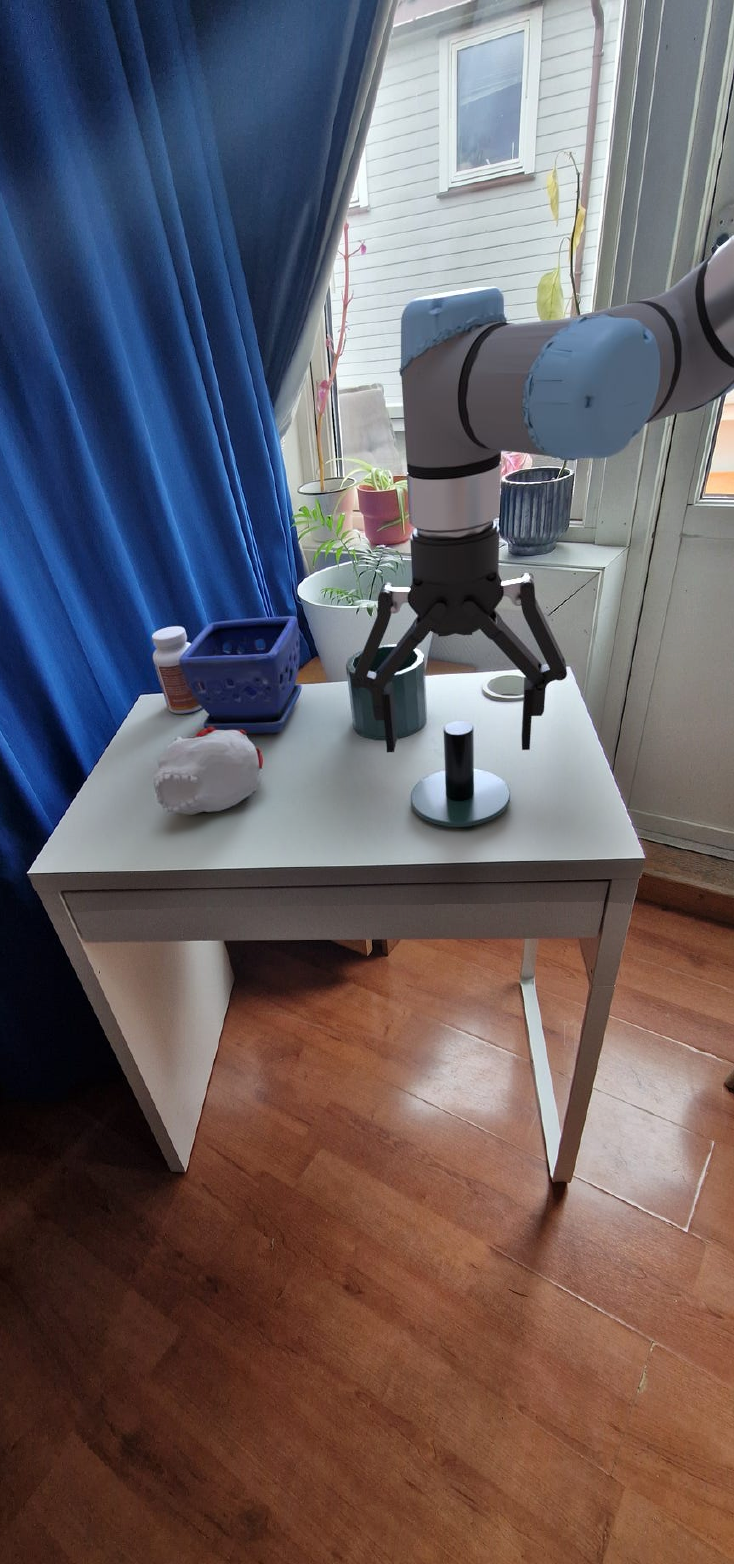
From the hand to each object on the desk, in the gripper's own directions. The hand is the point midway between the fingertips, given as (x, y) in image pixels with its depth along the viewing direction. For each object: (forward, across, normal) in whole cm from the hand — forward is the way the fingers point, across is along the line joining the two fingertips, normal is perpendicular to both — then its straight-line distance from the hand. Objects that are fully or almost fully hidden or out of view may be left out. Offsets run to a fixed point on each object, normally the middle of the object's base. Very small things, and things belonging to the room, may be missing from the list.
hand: (457, 744), depth 75 cm
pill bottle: (+8, +41, -26) cm, 49 cm away
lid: (+7, 0, 0) cm, 7 cm away
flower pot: (+8, +29, -21) cm, 36 cm away
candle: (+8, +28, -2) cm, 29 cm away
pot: (+7, +10, -19) cm, 22 cm away
